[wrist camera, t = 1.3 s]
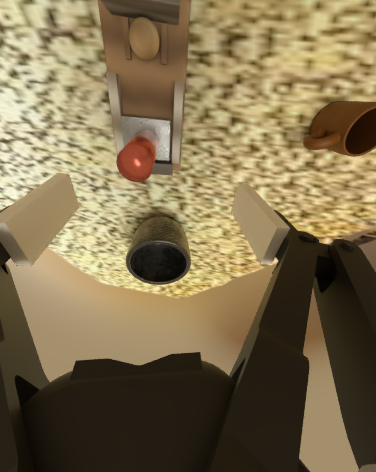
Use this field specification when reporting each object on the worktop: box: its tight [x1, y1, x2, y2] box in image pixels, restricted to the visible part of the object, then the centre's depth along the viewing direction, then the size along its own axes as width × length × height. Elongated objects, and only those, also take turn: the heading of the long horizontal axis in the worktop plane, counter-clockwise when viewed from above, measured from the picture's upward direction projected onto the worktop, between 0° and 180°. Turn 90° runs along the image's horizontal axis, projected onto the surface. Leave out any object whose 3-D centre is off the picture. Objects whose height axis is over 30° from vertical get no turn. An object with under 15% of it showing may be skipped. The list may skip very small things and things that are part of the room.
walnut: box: [129, 17, 159, 61], centre depth 24 cm, size 4×4×4 cm
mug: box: [303, 101, 376, 157], centre depth 32 cm, size 12×8×9 cm, turn 106°
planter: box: [126, 217, 191, 285], centre depth 44 cm, size 14×14×13 cm
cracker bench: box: [98, 0, 191, 175], centre depth 27 cm, size 24×12×9 cm, turn 175°
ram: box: [117, 114, 171, 182], centre depth 27 cm, size 6×8×16 cm
